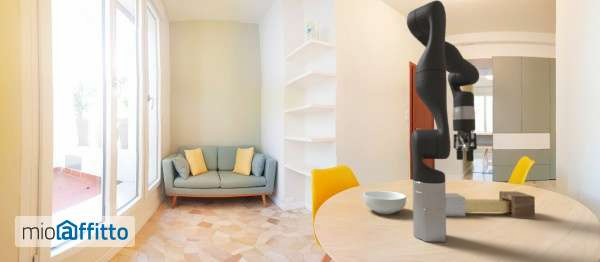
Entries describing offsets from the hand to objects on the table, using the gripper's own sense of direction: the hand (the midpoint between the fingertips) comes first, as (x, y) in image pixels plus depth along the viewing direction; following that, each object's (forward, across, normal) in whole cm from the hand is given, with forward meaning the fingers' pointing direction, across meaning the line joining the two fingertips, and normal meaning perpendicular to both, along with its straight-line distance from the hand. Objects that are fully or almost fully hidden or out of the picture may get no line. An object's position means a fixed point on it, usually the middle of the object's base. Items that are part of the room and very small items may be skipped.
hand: (464, 160), depth 108 cm
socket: (+21, +3, -20) cm, 29 cm away
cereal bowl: (+22, +3, +30) cm, 37 cm away
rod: (+20, +2, -8) cm, 22 cm away
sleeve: (+21, +2, +8) cm, 23 cm away
